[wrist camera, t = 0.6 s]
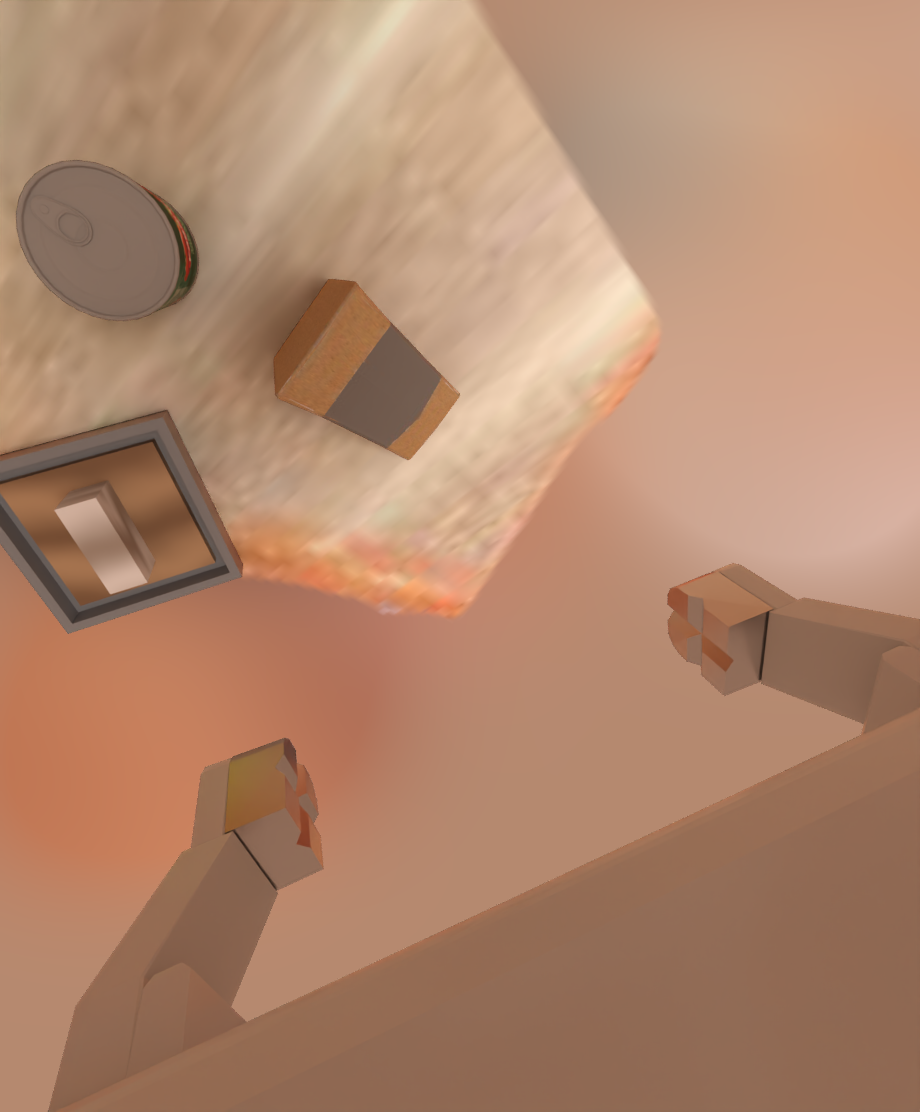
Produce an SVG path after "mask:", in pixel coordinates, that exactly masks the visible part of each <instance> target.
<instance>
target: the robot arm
mask: <svg viewBox="0 0 920 1112" xmlns="http://www.w3.org/2000/svg"><path fill="white" fill-rule="evenodd" d="M667 602H668V603H667V604H668V605H669V606H670V607H671V608H672V609H673V610H674V611H673V613H672V614H671V616H670V618H669V619H668V634H669V636H670V639H671V641H672V644H673V646H674V647H675V649H676V650H677V652H678V653H679V654H680V655H681V656H682V657H683V658H684V659H685V660H686V661H687V662H691V663H694V664H697V665H701V674H702V676H703V677H704V678H705V679H706V680H707V681H709V682H710V683H711V684H712V685H713V686H714V687H715V688H716V689H717V690H718V691H719V692H720V693H722V694H723V695H724V696H726V695H728V694H731V693H733V692H736V691H738V690H741V689H743V688H746V687H748V686H751V685H753V684H756V683H758V682H761V684H763V685H766V686H769V687H771V688H774V689H776V690H779V691H781V692H784V693H786V694H789V695H792V696H794V697H797V698H799V699H801V700H804V701H807V702H809V703H812V704H814V705H817V706H819V707H822V708H824V709H827V710H830V711H832V712H835V713H837V714H840V715H842V716H845V717H847V718H850V719H852V720H855V721H858V722H860V723H862V724H864V726H863V729H862V733H861V735H860V736H858V737H856V738H853V739H852V740H849V741H847V742H845V743H843V744H841V745H838V746H837V747H834V748H832V749H830V750H828V751H826V752H824V753H821V754H819V755H817V756H815V757H813V758H811V759H808V760H807V761H804V762H802V763H800V764H798V765H796V766H794V767H791V768H789V769H787V770H785V771H783V772H781V773H779V774H777V775H774V776H772V777H770V778H768V779H766V780H764V781H762V782H759V783H757V784H755V785H753V786H751V787H749V788H747V789H744V790H742V791H740V792H738V793H736V794H734V795H732V796H729V797H727V798H726V799H723V800H721V801H719V802H717V803H715V804H713V805H710V806H709V807H706V808H704V809H702V810H700V811H698V812H695V813H694V814H691V815H689V816H687V817H685V818H682V819H680V820H678V821H676V822H674V823H672V824H670V825H668V826H666V827H663V828H661V829H659V830H657V831H655V832H653V833H651V834H648V835H646V836H644V837H642V838H640V839H638V840H635V841H634V842H631V843H629V844H627V845H625V846H623V847H620V848H618V849H616V850H614V851H612V852H610V853H608V854H606V855H603V856H601V857H599V858H597V859H595V860H593V861H591V862H588V863H586V864H584V865H582V866H580V867H578V868H576V869H574V870H571V871H569V872H567V873H565V874H563V875H561V876H559V877H556V878H554V879H552V880H550V881H548V882H546V883H543V884H541V885H539V886H537V887H535V888H533V889H531V890H528V891H526V892H524V893H522V894H520V895H518V896H516V897H514V898H511V899H509V900H507V901H505V902H503V903H501V904H498V905H496V906H494V907H492V908H490V909H488V910H486V911H484V912H481V913H479V914H477V915H475V916H473V917H471V918H468V919H466V920H465V921H462V922H460V923H458V924H456V925H454V926H451V927H449V928H447V929H445V930H443V931H441V932H438V933H437V934H434V935H432V936H430V937H428V938H426V939H424V940H422V941H419V942H417V943H415V944H413V945H411V946H409V947H406V948H404V949H402V950H400V951H398V952H396V953H394V954H391V955H389V956H387V957H385V958H383V959H381V960H379V961H376V962H374V963H372V964H370V965H368V966H366V967H364V968H361V969H359V970H357V971H355V972H353V973H351V974H349V975H347V976H344V977H342V978H340V979H338V980H336V981H334V982H331V983H329V984H327V985H325V986H323V987H321V988H319V989H316V990H314V991H312V992H310V993H308V994H306V995H304V996H302V997H299V998H297V999H295V1000H293V1001H291V1002H289V1003H286V1004H284V1005H282V1006H280V1007H278V1008H276V1009H274V1010H272V1011H269V1012H267V1013H265V1014H263V1015H261V1016H259V1017H257V1018H254V1019H252V1020H250V1021H248V1022H246V1021H245V1020H244V1019H243V1018H242V1017H241V1016H240V1015H239V1014H238V1013H237V1012H236V1011H235V1010H234V1009H233V1008H232V1007H231V1006H232V1003H233V1001H234V998H235V996H236V993H237V991H238V989H239V986H240V984H241V981H242V979H243V977H244V974H245V972H246V969H247V967H248V965H249V962H250V960H251V957H252V955H253V952H254V950H255V948H256V945H257V943H258V940H259V938H260V935H261V933H262V930H263V928H264V926H265V923H266V921H267V919H268V916H269V914H270V911H271V909H272V906H273V904H274V902H275V899H276V897H277V894H278V893H277V890H279V889H281V888H284V887H286V886H288V885H290V884H292V883H294V882H297V881H299V880H301V879H303V878H305V877H307V876H309V875H312V874H314V873H316V872H318V871H320V870H322V869H324V868H323V856H322V845H321V835H320V834H319V832H318V830H317V828H316V827H315V825H314V822H315V820H316V818H317V816H318V805H317V798H316V795H315V790H314V786H313V783H312V781H311V778H310V776H309V773H308V772H307V770H306V768H305V766H304V765H301V764H299V763H297V760H296V750H295V748H294V746H293V745H292V743H291V741H290V740H289V739H288V738H283V739H280V740H278V741H275V742H272V743H269V744H266V745H264V746H261V747H258V748H255V749H253V750H250V751H247V752H244V753H241V754H239V755H236V756H233V757H232V758H230V759H227V760H224V761H221V762H219V763H216V764H213V765H210V766H207V767H205V768H204V770H203V772H202V774H201V776H200V783H199V791H198V798H197V806H196V814H195V822H194V828H193V836H192V843H191V848H190V849H188V850H186V851H183V852H182V853H181V854H180V856H179V857H178V859H177V860H176V862H175V863H174V865H173V866H172V867H171V869H170V870H169V872H168V873H167V875H166V876H165V878H164V879H163V880H162V882H161V883H160V885H159V886H158V888H157V889H156V891H155V892H154V894H153V895H152V896H151V898H150V899H149V901H148V902H147V904H146V905H145V907H144V908H143V910H142V911H141V912H140V914H139V915H138V917H137V918H136V920H135V921H134V922H133V924H132V925H131V927H130V928H129V930H128V931H127V933H126V934H125V936H124V937H123V938H122V940H121V941H120V943H119V944H118V946H117V947H116V949H115V950H114V951H113V953H112V954H111V956H110V957H109V959H108V960H107V962H106V963H105V964H104V966H103V967H102V969H101V970H100V972H99V973H98V975H97V976H96V977H95V979H94V981H93V982H92V983H91V985H90V986H89V988H88V989H87V990H86V992H85V994H84V995H83V996H82V998H81V999H80V1001H79V1002H78V1004H77V1005H76V1007H75V1010H74V1015H73V1018H72V1022H71V1026H70V1030H69V1034H68V1037H67V1041H66V1045H65V1049H64V1052H63V1056H62V1060H61V1064H60V1068H59V1072H58V1075H57V1080H56V1083H55V1087H54V1091H53V1094H52V1098H51V1102H50V1106H49V1110H48V1112H920V619H916V618H911V617H905V616H900V615H894V614H889V613H884V612H878V611H873V610H868V609H862V608H857V607H852V606H846V605H841V604H835V603H830V602H825V601H819V600H814V599H809V598H802V599H799V600H797V599H795V598H793V597H792V596H790V595H788V594H787V593H785V592H784V591H782V590H780V589H779V588H777V587H776V586H774V585H772V584H771V583H769V582H768V581H766V580H764V579H763V578H761V577H759V576H758V575H756V574H755V573H753V572H751V571H750V570H748V569H746V568H745V567H743V566H742V565H739V564H734V563H732V564H729V565H727V566H724V567H722V568H720V569H717V570H715V571H712V572H711V573H708V574H705V575H703V576H700V577H698V578H695V579H693V580H690V581H688V582H685V583H683V584H680V585H678V586H675V587H673V588H670V590H669V593H668V601H667Z"/></svg>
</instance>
